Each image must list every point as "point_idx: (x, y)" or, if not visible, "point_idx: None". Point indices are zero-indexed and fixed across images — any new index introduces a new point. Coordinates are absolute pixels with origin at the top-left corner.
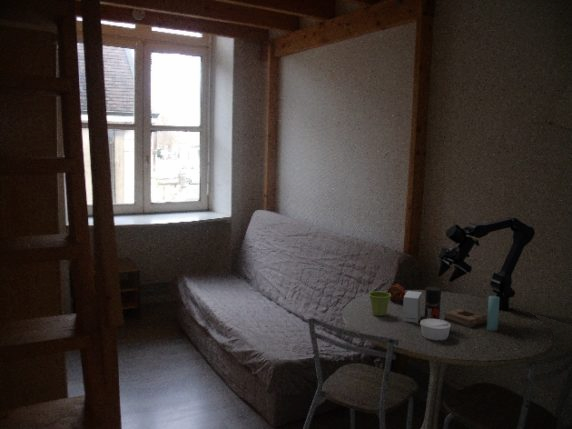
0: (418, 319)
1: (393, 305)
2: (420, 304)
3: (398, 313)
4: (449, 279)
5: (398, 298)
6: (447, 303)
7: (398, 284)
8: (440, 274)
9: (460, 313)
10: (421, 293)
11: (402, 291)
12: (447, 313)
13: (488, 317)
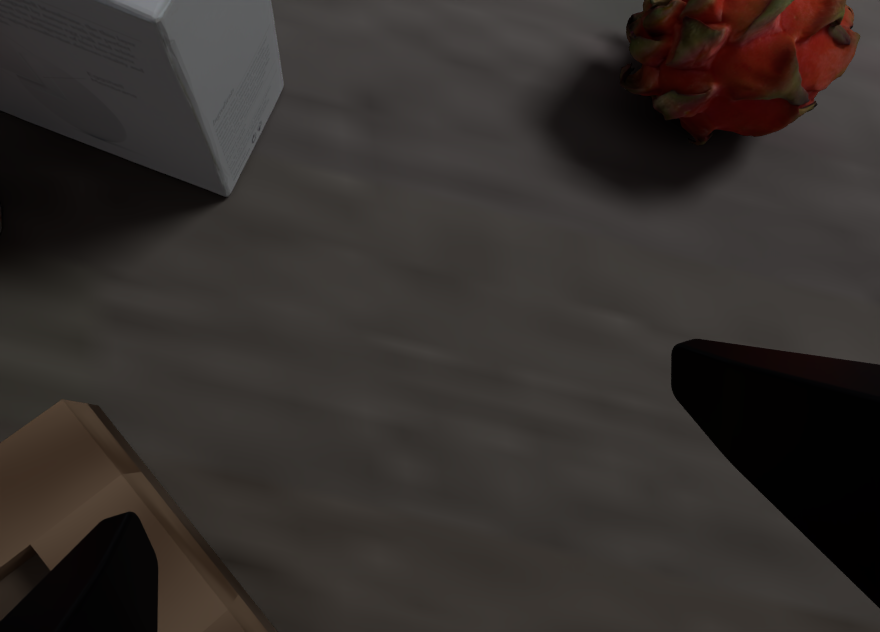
0: (13, 107)
1: (533, 35)
2: (67, 68)
3: (294, 15)
4: (107, 538)
5: (641, 69)
6: (694, 579)
7: (831, 10)
8: (721, 407)
9: None
10: (97, 2)
11: (685, 52)
12: (27, 424)
13: None
